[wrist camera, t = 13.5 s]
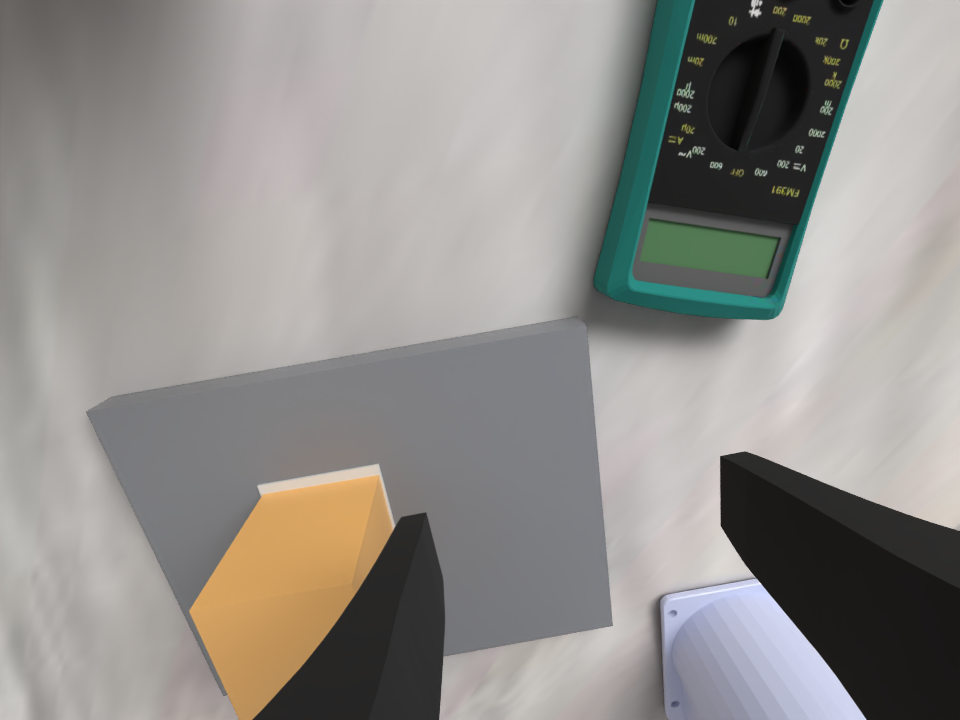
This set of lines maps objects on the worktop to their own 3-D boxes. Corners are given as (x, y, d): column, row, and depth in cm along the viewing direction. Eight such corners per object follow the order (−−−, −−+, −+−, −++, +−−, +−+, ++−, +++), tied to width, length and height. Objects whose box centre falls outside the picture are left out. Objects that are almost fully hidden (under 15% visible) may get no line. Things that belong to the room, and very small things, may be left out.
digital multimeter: (875, -99, 16) (963, -162, 14) (743, 313, 21) (789, 330, 18) (677, -146, 16) (727, -223, 13) (585, 292, 20) (607, 307, 17)
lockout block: (402, 567, 22) (386, 697, 16) (295, 585, 21) (240, 722, 16) (379, 475, 20) (351, 583, 14) (263, 494, 20) (188, 611, 14)
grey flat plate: (603, 601, 25) (618, 639, 23) (236, 667, 25) (215, 712, 23) (576, 316, 20) (592, 330, 18) (111, 396, 20) (70, 420, 17)
